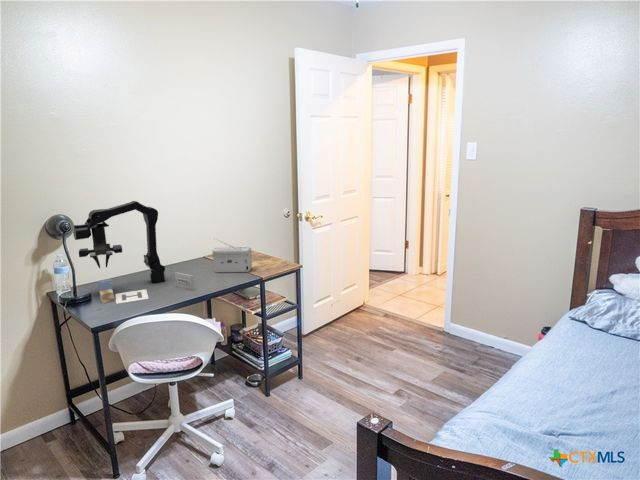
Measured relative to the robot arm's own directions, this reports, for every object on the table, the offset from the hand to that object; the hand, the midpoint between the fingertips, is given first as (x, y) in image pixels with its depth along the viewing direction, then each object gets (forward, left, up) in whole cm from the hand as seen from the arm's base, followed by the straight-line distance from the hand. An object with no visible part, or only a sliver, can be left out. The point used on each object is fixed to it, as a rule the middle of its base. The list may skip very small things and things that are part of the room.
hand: (103, 267), depth 216 cm
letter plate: (-11, +12, -13) cm, 21 cm away
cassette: (-36, +11, -13) cm, 40 cm away
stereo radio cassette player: (-65, -6, -13) cm, 67 cm away
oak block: (0, +13, -13) cm, 18 cm away
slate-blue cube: (0, 0, -13) cm, 13 cm away
